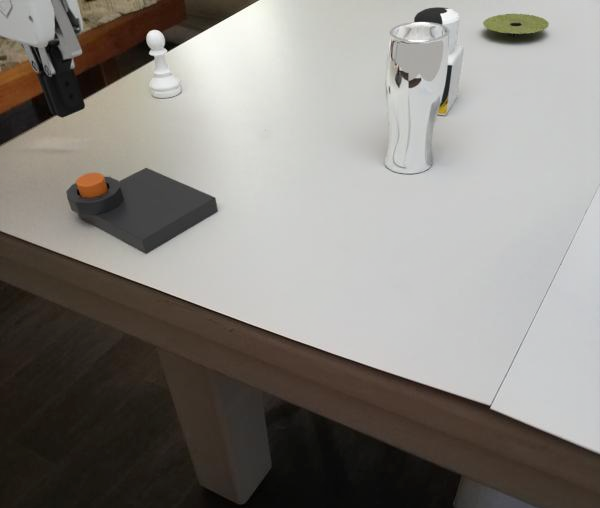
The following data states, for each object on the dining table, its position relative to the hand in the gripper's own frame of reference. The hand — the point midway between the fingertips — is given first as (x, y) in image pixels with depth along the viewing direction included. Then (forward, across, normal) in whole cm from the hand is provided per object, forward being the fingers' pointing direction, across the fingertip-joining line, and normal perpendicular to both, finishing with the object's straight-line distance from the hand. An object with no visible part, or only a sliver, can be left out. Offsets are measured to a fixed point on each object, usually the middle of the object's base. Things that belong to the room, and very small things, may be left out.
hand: (68, 111), depth 62 cm
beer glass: (+13, +22, +32) cm, 41 cm away
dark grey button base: (+12, +4, +3) cm, 13 cm away
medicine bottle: (+13, +14, +49) cm, 52 cm away
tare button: (+9, 0, 0) cm, 9 cm away
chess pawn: (+12, -24, +30) cm, 40 cm away
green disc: (+13, +10, +83) cm, 85 cm away
